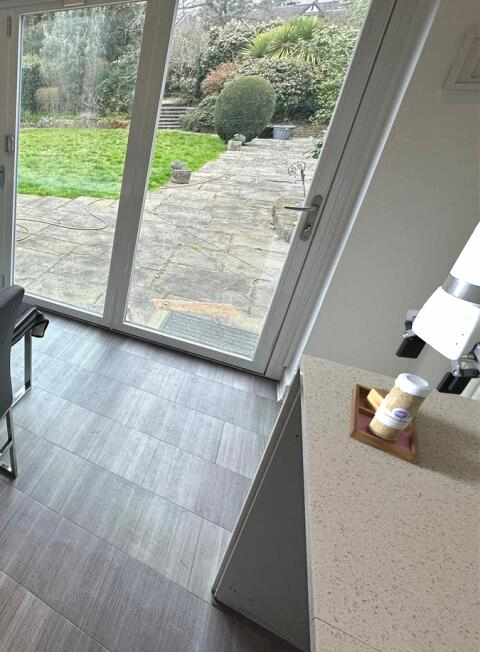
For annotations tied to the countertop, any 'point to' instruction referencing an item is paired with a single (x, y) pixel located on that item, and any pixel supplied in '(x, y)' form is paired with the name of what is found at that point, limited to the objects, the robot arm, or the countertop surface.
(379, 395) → the oak block
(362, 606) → the countertop surface
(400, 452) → the tray
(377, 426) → the sprinkles bottle
